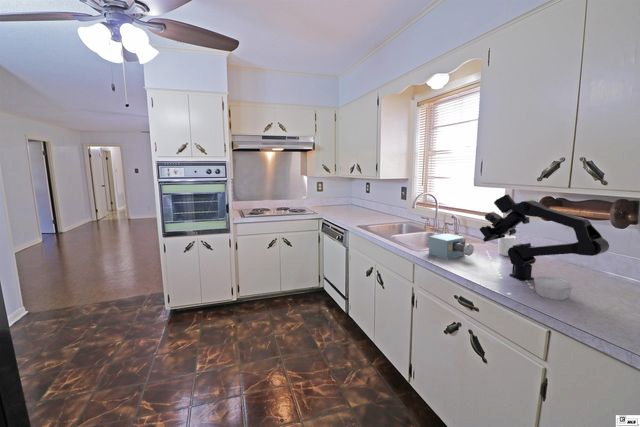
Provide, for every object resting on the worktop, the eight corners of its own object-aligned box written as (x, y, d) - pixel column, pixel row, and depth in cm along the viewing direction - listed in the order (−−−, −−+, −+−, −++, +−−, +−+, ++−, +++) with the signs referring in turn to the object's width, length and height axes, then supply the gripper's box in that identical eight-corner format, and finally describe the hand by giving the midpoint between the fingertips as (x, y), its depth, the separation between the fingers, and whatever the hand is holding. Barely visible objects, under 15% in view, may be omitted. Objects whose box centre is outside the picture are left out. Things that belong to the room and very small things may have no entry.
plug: (473, 254, 149) (474, 243, 148) (465, 256, 147) (466, 245, 146) (450, 248, 162) (450, 237, 161) (442, 249, 159) (443, 239, 159)
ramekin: (550, 287, 115) (552, 275, 114) (579, 300, 104) (581, 286, 103) (525, 290, 113) (526, 277, 113) (551, 303, 102) (553, 288, 102)
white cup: (513, 253, 160) (514, 235, 159) (515, 257, 153) (516, 238, 152) (496, 251, 164) (497, 234, 162) (497, 255, 157) (498, 237, 156)
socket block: (465, 255, 159) (466, 237, 157) (446, 259, 153) (447, 240, 151) (446, 250, 170) (447, 233, 168) (428, 253, 164) (429, 236, 162)
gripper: (511, 205, 136) (487, 225, 148) (484, 208, 128) (461, 229, 140) (527, 224, 130) (501, 243, 142) (501, 229, 122) (475, 248, 134)
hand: (485, 240), depth 140 cm, fingers closed
